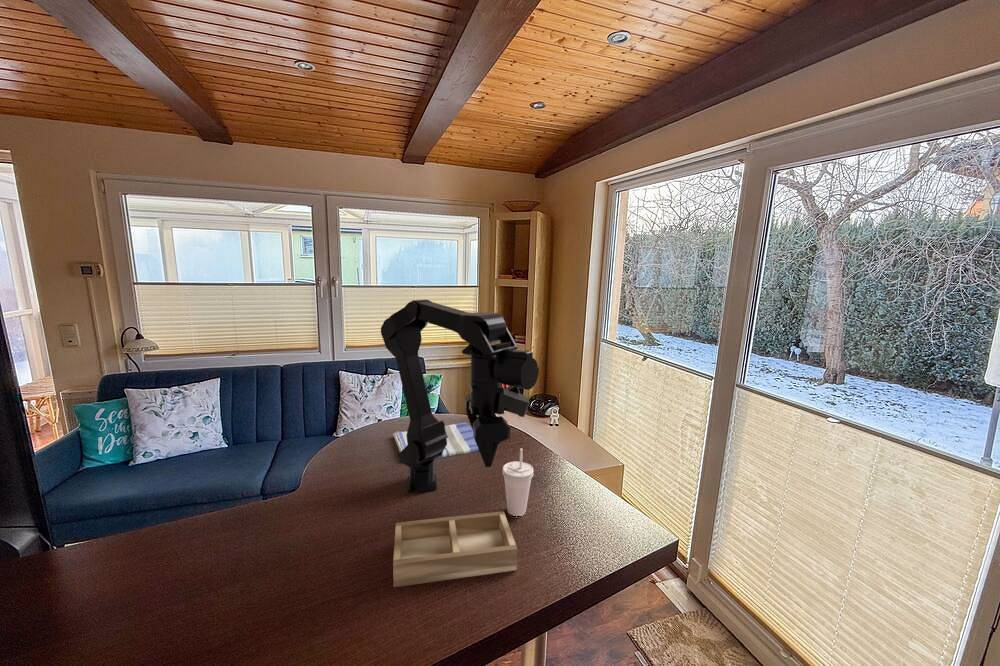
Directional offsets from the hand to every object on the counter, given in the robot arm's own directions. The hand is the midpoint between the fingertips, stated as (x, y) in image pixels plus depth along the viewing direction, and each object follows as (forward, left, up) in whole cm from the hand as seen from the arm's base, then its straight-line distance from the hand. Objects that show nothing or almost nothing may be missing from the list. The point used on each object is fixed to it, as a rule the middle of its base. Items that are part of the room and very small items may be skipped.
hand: (484, 455), depth 80 cm
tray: (+10, -7, -13) cm, 18 cm away
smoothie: (0, +7, -13) cm, 15 cm away
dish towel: (-35, -7, -14) cm, 38 cm away
